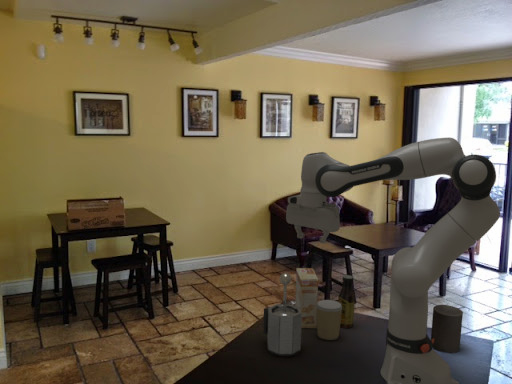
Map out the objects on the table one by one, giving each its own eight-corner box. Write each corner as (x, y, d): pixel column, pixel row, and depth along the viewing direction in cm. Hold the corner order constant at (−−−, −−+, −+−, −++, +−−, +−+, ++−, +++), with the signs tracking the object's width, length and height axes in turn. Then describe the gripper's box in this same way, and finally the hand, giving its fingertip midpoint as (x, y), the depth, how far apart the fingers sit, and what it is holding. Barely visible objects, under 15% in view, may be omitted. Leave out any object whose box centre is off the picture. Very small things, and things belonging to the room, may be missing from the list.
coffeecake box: (317, 328, 172) (318, 279, 169) (298, 328, 172) (299, 279, 169) (311, 313, 187) (313, 267, 184) (294, 313, 187) (295, 267, 184)
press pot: (306, 348, 155) (307, 310, 153) (286, 360, 147) (287, 319, 145) (275, 336, 165) (276, 299, 163) (254, 346, 156) (255, 308, 155)
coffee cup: (339, 330, 170) (341, 300, 169) (342, 341, 161) (343, 309, 160) (315, 329, 171) (316, 298, 170) (315, 340, 162) (316, 308, 161)
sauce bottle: (334, 323, 177) (336, 274, 175) (348, 321, 179) (350, 273, 177) (342, 329, 171) (344, 279, 169) (356, 328, 173) (358, 278, 170)
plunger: (300, 314, 154) (301, 273, 152) (286, 320, 148) (287, 278, 146) (282, 308, 159) (283, 268, 157) (268, 314, 153) (269, 273, 151)
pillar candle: (424, 343, 160) (427, 303, 158) (443, 338, 165) (446, 299, 163) (446, 356, 152) (450, 313, 150) (466, 350, 156) (469, 308, 154)
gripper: (344, 203, 147) (342, 244, 148) (295, 196, 160) (293, 234, 162) (334, 205, 142) (331, 247, 144) (284, 197, 156) (282, 236, 158)
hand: (311, 240), depth 153 cm, fingers open, 8 cm apart
